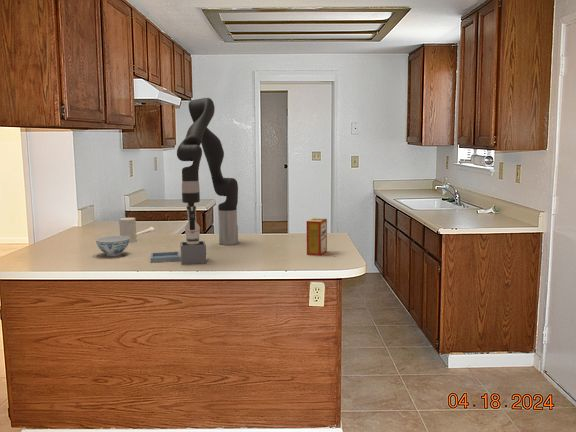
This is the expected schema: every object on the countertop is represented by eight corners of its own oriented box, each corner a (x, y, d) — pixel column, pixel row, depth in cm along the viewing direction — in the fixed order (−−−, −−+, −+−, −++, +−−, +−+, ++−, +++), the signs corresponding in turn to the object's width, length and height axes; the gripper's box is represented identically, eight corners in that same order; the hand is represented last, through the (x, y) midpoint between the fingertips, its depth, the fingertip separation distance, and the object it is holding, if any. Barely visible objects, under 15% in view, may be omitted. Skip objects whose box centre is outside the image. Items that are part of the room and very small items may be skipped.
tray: (179, 255, 270) (179, 251, 270) (180, 261, 259) (179, 256, 258) (151, 257, 267) (151, 252, 267) (150, 262, 256) (150, 258, 256)
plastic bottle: (186, 260, 261) (184, 215, 258) (201, 259, 261) (200, 215, 258) (185, 263, 254) (183, 217, 251) (200, 262, 255) (199, 217, 252)
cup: (132, 243, 302) (131, 220, 300) (117, 242, 303) (116, 219, 302) (139, 240, 310) (138, 217, 308) (125, 239, 311) (123, 217, 310)
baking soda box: (320, 255, 266) (320, 221, 263) (306, 254, 268) (306, 220, 266) (326, 251, 274) (326, 217, 272) (313, 250, 277) (313, 217, 274)
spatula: (129, 240, 312) (129, 234, 312) (122, 239, 313) (122, 234, 313) (156, 231, 339) (156, 226, 338) (150, 231, 340) (149, 226, 340)
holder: (204, 258, 263) (204, 240, 262) (206, 263, 254) (205, 244, 253) (180, 259, 261) (180, 242, 260) (181, 264, 252) (180, 246, 251)
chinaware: (95, 253, 277) (94, 237, 276) (127, 250, 283) (127, 234, 282) (98, 259, 264) (97, 242, 263) (132, 256, 270) (131, 239, 269)
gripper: (200, 192, 247) (201, 230, 249) (198, 189, 261) (199, 225, 263) (182, 193, 246) (183, 231, 248) (181, 190, 259) (182, 226, 262)
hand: (191, 228), depth 255 cm, fingers open, 8 cm apart
